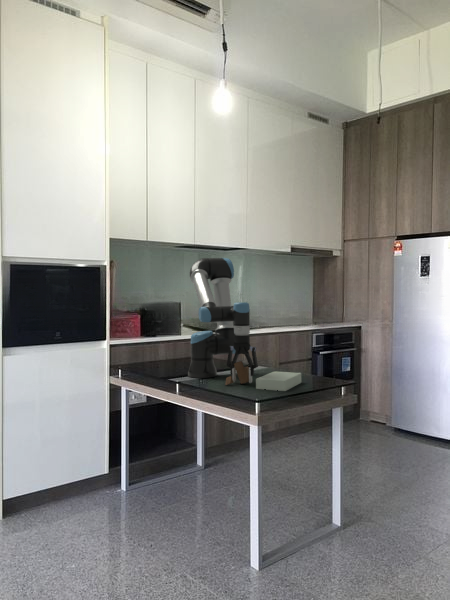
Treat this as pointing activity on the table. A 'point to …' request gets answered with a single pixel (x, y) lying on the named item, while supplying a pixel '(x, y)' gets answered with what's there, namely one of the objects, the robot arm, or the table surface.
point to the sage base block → (278, 381)
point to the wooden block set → (239, 374)
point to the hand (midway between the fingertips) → (242, 382)
